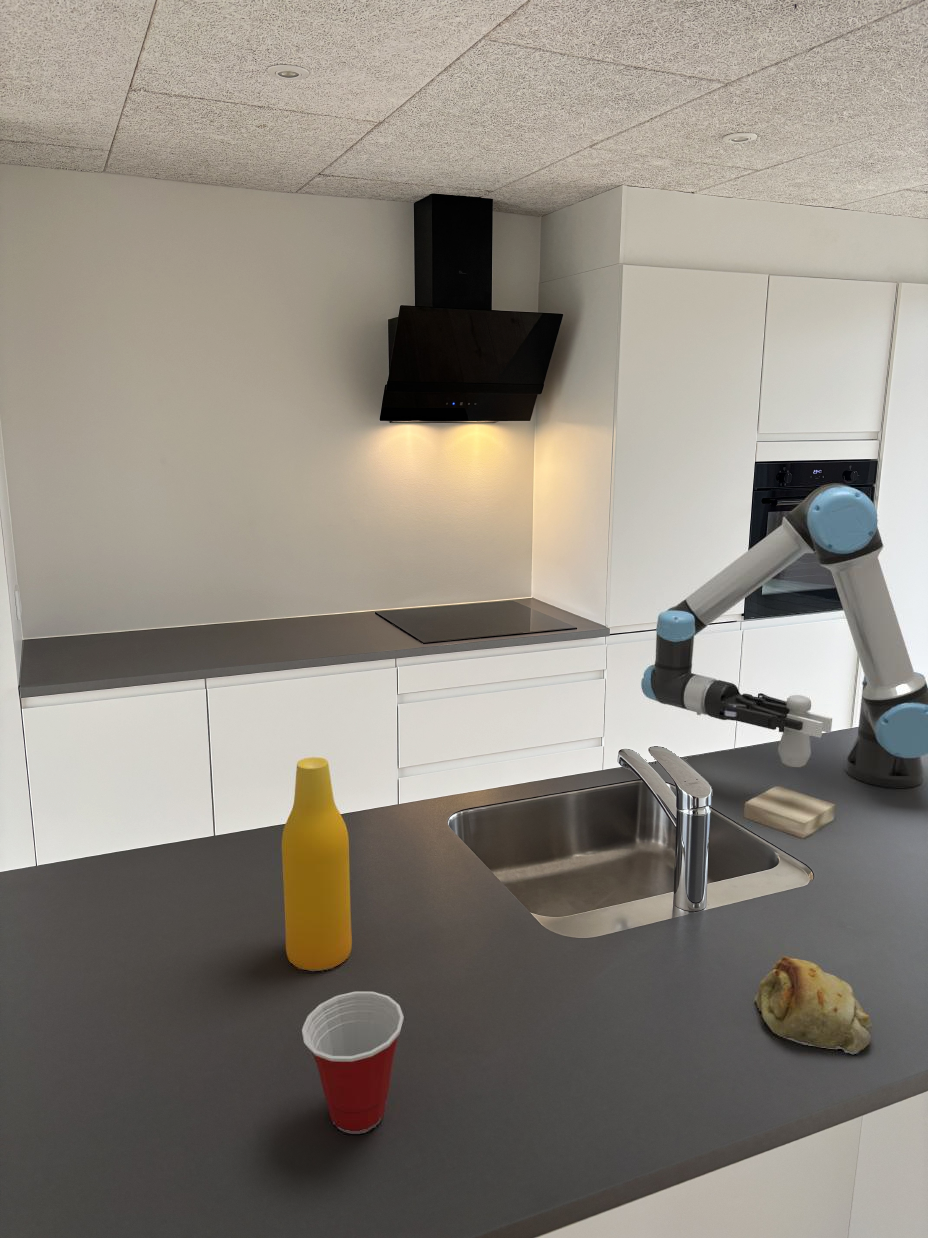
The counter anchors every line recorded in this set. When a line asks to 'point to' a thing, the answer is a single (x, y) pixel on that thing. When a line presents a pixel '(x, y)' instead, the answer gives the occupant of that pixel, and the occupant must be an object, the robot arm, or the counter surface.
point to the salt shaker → (795, 735)
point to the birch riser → (789, 811)
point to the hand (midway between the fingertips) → (825, 727)
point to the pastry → (812, 1006)
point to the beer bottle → (316, 873)
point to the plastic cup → (354, 1054)
